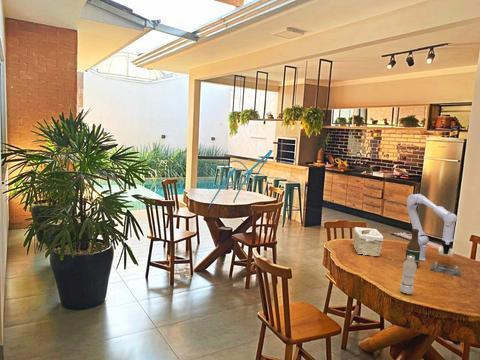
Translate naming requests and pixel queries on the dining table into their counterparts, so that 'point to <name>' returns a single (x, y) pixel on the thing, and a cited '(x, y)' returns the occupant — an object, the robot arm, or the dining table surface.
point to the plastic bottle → (408, 275)
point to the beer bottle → (414, 247)
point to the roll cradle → (446, 269)
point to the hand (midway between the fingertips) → (445, 252)
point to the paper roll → (450, 253)
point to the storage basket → (367, 241)
